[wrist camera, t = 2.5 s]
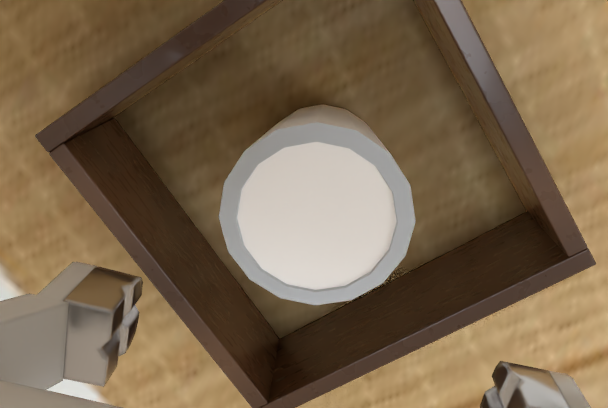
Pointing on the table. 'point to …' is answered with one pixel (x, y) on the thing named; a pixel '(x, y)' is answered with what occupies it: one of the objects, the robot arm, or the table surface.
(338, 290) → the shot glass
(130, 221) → the crate
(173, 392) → the table surface
